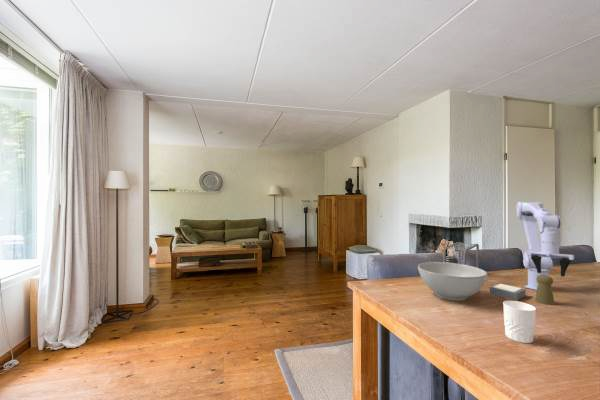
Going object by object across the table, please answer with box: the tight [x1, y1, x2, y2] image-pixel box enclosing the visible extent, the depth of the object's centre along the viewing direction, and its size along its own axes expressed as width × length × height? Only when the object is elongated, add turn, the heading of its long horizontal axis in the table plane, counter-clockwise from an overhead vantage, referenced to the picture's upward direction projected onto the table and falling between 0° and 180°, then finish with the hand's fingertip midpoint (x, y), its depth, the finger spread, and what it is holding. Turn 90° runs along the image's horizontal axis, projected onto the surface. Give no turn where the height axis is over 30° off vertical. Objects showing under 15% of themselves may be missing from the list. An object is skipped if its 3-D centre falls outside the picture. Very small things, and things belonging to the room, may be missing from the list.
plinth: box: [489, 283, 527, 301], centre depth 121 cm, size 10×10×3 cm
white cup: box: [502, 300, 537, 344], centre depth 83 cm, size 8×8×10 cm
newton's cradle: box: [442, 241, 480, 269], centre depth 148 cm, size 30×10×18 cm, turn 136°
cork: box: [534, 275, 555, 306], centre depth 112 cm, size 6×6×11 cm
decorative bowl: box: [417, 261, 488, 302], centre depth 119 cm, size 27×27×12 cm
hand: (550, 274), depth 116 cm, fingers open, 7 cm apart
